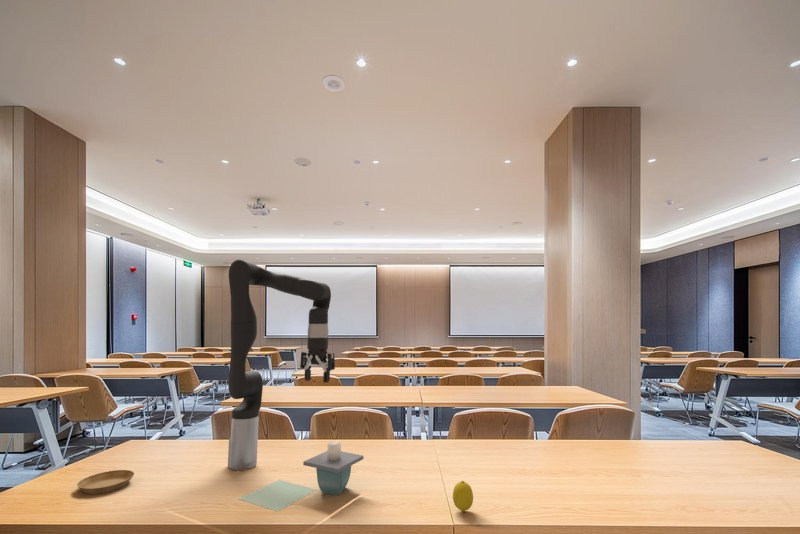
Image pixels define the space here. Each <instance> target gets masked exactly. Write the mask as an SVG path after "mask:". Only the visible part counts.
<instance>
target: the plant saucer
mask: <svg viewBox="0 0 800 534" xmlns="http://www.w3.org/2000/svg"><path fill="white" fill-rule="evenodd" d="M134 476H135V472H134V471H133V470H128V469H117V470H108V471H103V472H99V473H96V474H93V475H90V476H87V477H85V478H83V479H81V480H80V481H78V483H77V484H76V486H77V488H78V489H79V490H80V491H82V492H83V493H85V494H89V493H91V495H92V494H94V495H95V494H96V493H98V494H102V493H107V492H112V491H115V490H118V489H120V488H122V487H124V486H125V485H127V484H128V483H129V482H130V481H131V479H132V478H133V477H134ZM96 495H97V494H96Z"/></svg>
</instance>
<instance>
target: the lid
mask: <svg viewBox="0 0 800 534" xmlns="http://www.w3.org/2000/svg"><path fill="white" fill-rule="evenodd" d="M341 448H342V443H341V442H340V441H330V442H328V443H327V450H326V451H324V452H321V453H320V454H317V455H315V456H313V457H311V458H309V459H306V460H304V461H303V463H302V464H303V466H305V467H311V468H315V469H316V468H319V469H323V470H327V471H332V472H336V473H338V472H340V471H342V470H344V469H346V468H348V467H350V466H351V467H352V466H353V465H355V464H358V462H361V461H362V460H364V455H362V454H361V455H360V454H356V453H353V452H352V453H351V452H347V451H342V449H341Z"/></svg>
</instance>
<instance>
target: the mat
mask: <svg viewBox="0 0 800 534" xmlns="http://www.w3.org/2000/svg"><path fill="white" fill-rule="evenodd" d="M317 490H318V489H317V488H313V487H308V486H305V485H300V484H296V483H293V482H289V481H287V480H286V481H285V480H282V479H277V480H275V481H273V482H271V483H268V484H267V485H265V486H263V487H260V488H258V489H256V490H254V491H252V492H249V493H248V494H246V495H243V496H241V497H239V498H238V500H239V501H242V502H246V503H250V504H253V505H256V506H259V507H262V508H265V509H269V510H272V511H275V512H280V511H281V510H283V509H285V508H287V507H288V506H290V505H292V504H294V503H295V502H297V501H299V500H301V499H303V498H305V497H307V496H308V495H311V493H313V492H316V491H317Z"/></svg>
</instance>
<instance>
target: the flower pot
mask: <svg viewBox="0 0 800 534" xmlns="http://www.w3.org/2000/svg"><path fill="white" fill-rule="evenodd" d="M315 471H316V480H317V484H318V488H319V490H320V491H321V493H322V494H324V495H335V496H340V495H341V494H342V492H344V490H345V489H346V488H347V485H348V483H349V481H350V480H349V479H350V477H351V473H352V472H351V471H352V465H351V466H350V467H348V468H346V469H344V470H342V471H340V472H338V473H336V472H332V471H327V470H323V469H319V468H315Z"/></svg>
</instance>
